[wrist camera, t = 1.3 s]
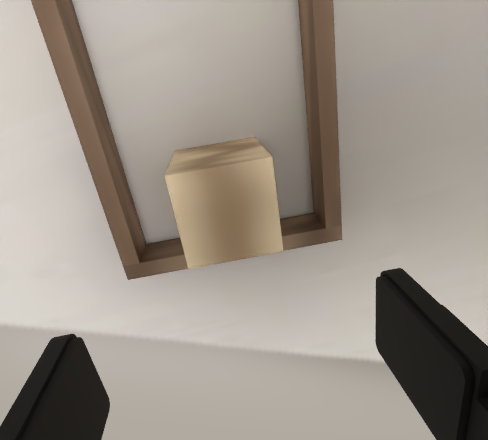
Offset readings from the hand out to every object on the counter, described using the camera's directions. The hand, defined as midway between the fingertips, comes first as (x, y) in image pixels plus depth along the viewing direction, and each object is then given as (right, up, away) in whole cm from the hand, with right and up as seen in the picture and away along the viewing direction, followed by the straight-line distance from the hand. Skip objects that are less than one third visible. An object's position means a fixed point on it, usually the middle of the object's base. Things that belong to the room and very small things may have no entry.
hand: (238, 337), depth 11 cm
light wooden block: (-1, +7, +15) cm, 17 cm away
